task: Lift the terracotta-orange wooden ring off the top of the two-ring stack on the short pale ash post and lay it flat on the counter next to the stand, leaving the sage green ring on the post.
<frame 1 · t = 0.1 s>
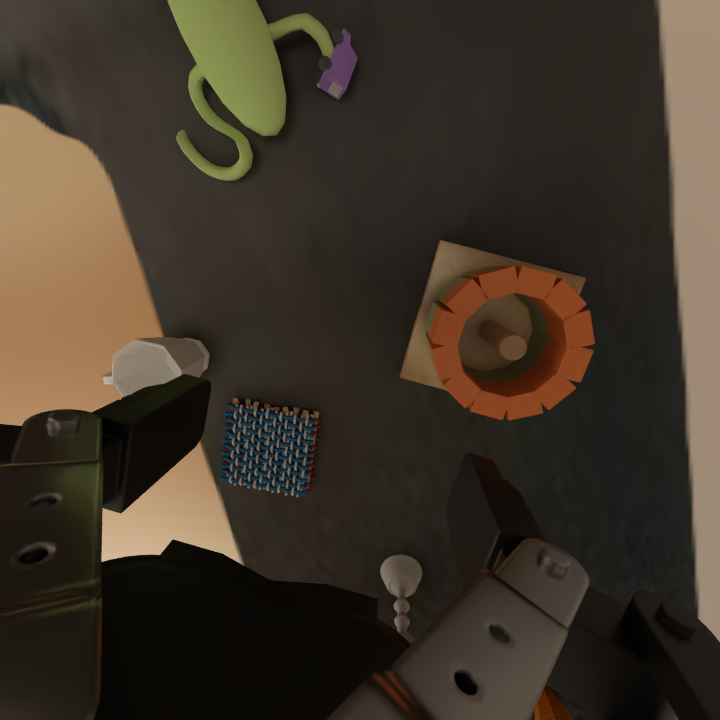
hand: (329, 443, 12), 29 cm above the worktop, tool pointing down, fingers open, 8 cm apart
chalice: (401, 571, 47), on the worktop
ring stand: (485, 328, 39), on the worktop
orange ring: (498, 337, 34), point 5 cm above the worktop, touching green ring
woven mat: (273, 443, 45), on the worktop
green ring: (488, 330, 38), point 1 cm above the worktop, touching orange ring, ring stand
cup: (179, 358, 43), on the worktop
figurine: (240, 7, 35), on the worktop
carrot: (539, 680, 49), on the worktop
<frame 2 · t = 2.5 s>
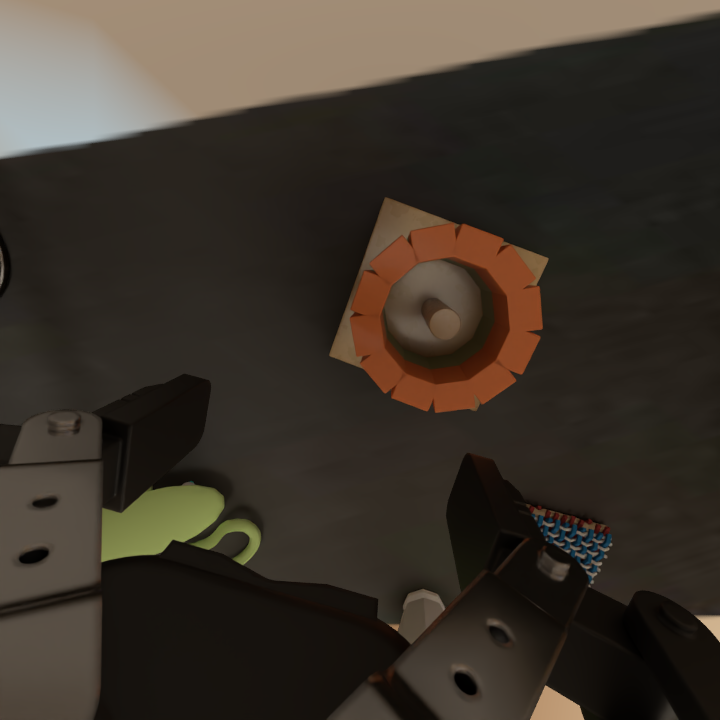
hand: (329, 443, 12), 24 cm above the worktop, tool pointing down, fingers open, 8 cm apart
ring stand: (431, 308, 34), on the worktop
orange ring: (437, 315, 29), point 5 cm above the worktop, touching green ring
woven mat: (537, 549, 39), on the worktop
green ring: (432, 309, 33), point 1 cm above the worktop, touching orange ring, ring stand
cup: (423, 615, 42), on the worktop
figurine: (133, 496, 42), on the worktop
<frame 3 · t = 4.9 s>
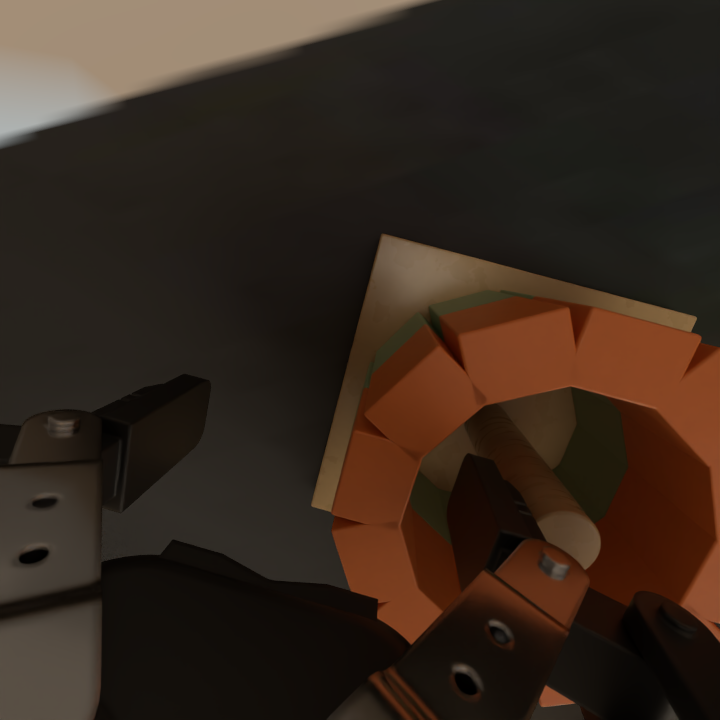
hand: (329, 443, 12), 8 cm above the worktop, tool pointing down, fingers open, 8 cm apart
ring stand: (478, 410, 20), on the worktop
orange ring: (510, 462, 14), point 5 cm above the worktop, touching green ring
green ring: (485, 421, 18), point 1 cm above the worktop, touching orange ring, ring stand
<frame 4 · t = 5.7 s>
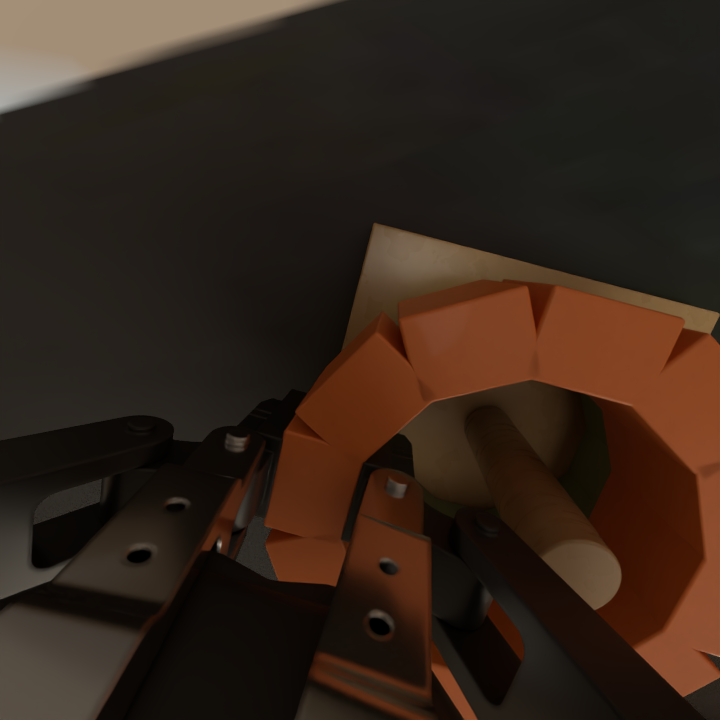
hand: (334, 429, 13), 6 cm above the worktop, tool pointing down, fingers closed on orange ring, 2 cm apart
ring stand: (479, 414, 18), on the worktop
orange ring: (480, 465, 13), point 6 cm above the worktop, touching green ring, gripper
green ring: (486, 425, 17), point 2 cm above the worktop, touching orange ring, ring stand
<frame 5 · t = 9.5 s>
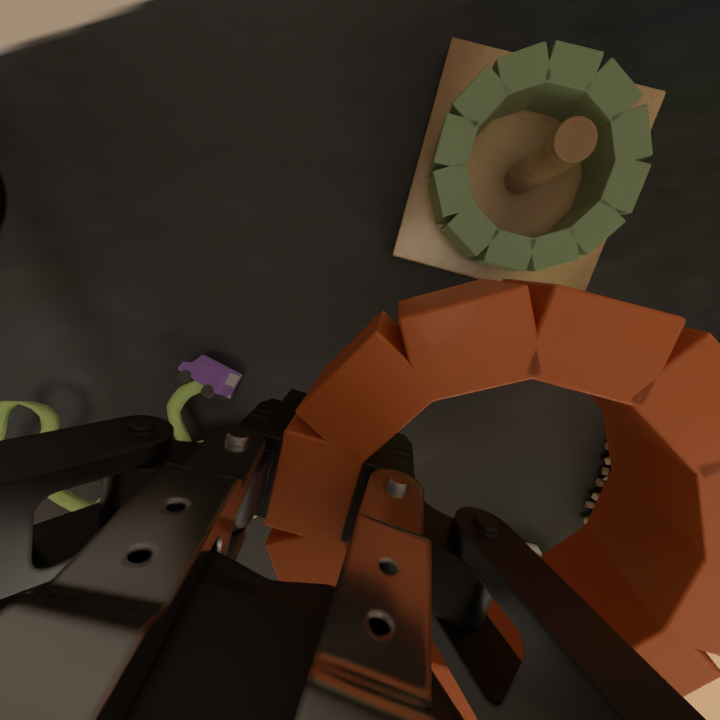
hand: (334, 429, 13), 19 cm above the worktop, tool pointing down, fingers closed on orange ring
ring stand: (513, 183, 28), on the worktop
orange ring: (480, 464, 13), point 19 cm above the worktop, touching gripper
woven mat: (657, 478, 32), on the worktop
green ring: (518, 178, 26), point 1 cm above the worktop, touching ring stand
figurine: (168, 461, 36), on the worktop
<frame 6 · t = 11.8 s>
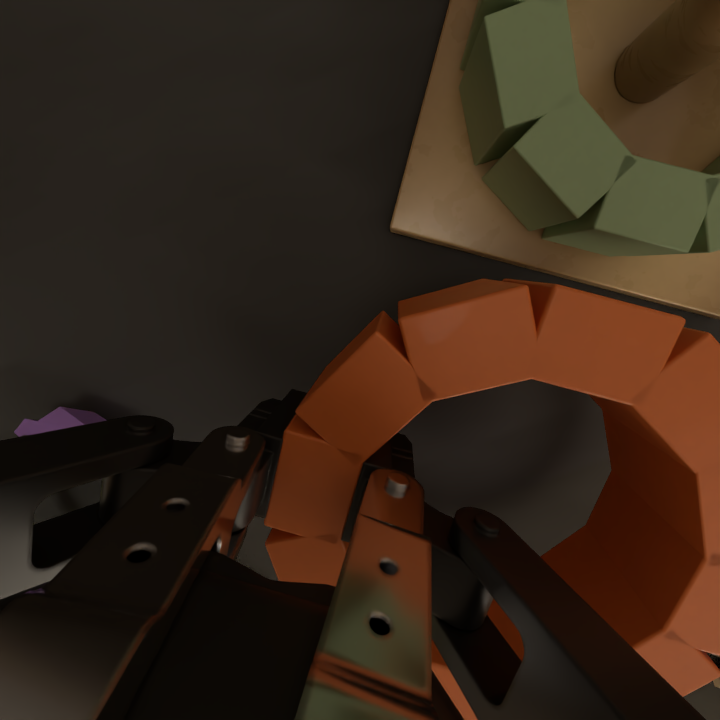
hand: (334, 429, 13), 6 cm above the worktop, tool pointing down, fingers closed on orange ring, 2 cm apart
ring stand: (620, 90, 15), on the worktop
orange ring: (480, 464, 13), point 5 cm above the worktop, touching gripper
green ring: (643, 68, 13), point 1 cm above the worktop, touching ring stand
figurine: (34, 566, 23), on the worktop
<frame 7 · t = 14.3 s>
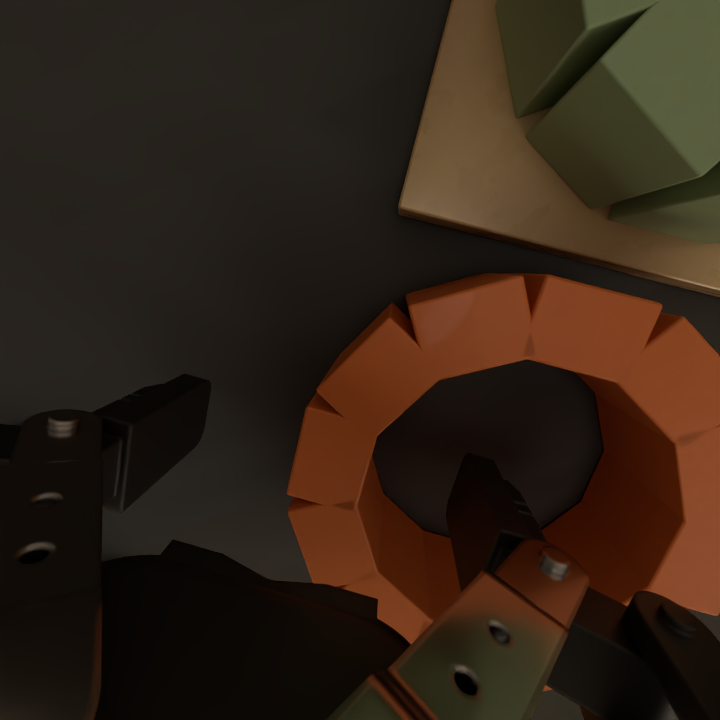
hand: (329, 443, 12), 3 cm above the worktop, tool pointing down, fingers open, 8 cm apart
ring stand: (716, 13, 10), on the worktop
orange ring: (482, 445, 14), on the worktop
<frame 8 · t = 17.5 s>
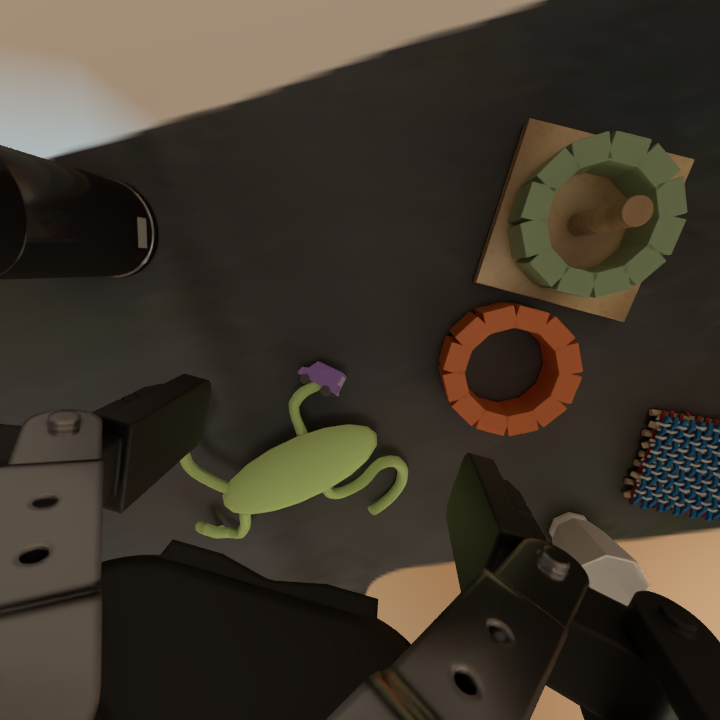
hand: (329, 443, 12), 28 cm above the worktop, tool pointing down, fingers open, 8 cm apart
ring stand: (571, 226, 35), on the worktop
orange ring: (500, 362, 39), on the worktop
woven mat: (683, 459, 40), on the worktop
green ring: (578, 223, 34), point 1 cm above the worktop, touching ring stand
cup: (569, 539, 43), on the worktop
figurine: (277, 448, 44), on the worktop
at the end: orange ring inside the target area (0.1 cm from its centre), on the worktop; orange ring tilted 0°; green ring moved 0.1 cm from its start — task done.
